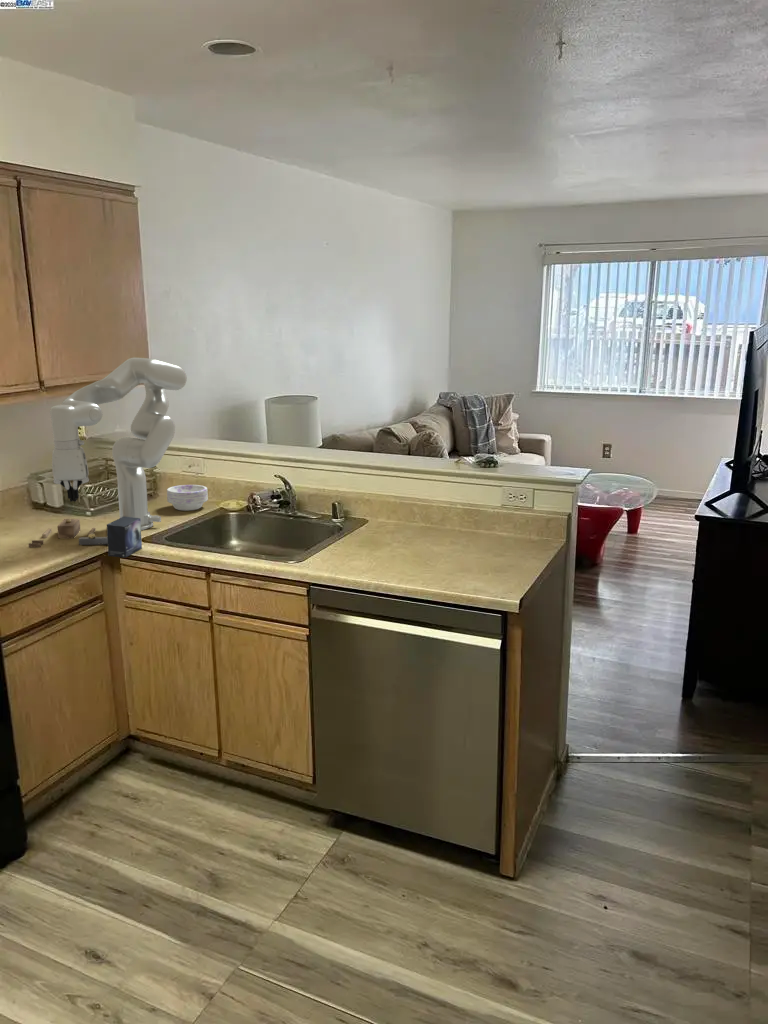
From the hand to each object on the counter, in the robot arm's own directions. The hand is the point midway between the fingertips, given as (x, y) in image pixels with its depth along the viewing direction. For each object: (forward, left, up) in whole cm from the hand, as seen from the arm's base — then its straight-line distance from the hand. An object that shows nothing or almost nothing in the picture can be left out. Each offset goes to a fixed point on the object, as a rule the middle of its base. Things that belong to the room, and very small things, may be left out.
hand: (73, 500), depth 252 cm
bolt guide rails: (+5, -11, -15) cm, 19 cm away
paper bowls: (-31, -45, -15) cm, 56 cm away
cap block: (+5, -11, -15) cm, 19 cm away
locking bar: (-7, +1, -15) cm, 16 cm away
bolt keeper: (+13, +1, -15) cm, 19 cm away
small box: (-17, +10, -15) cm, 25 cm away
